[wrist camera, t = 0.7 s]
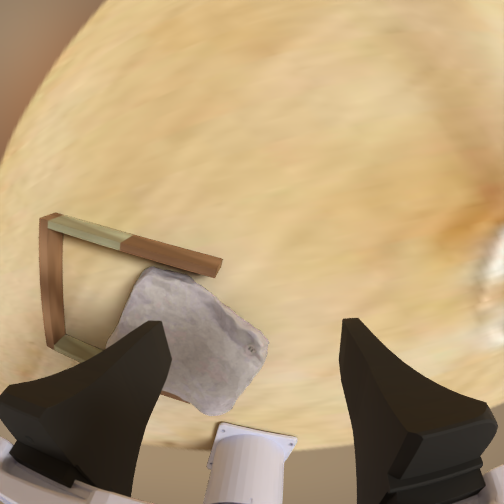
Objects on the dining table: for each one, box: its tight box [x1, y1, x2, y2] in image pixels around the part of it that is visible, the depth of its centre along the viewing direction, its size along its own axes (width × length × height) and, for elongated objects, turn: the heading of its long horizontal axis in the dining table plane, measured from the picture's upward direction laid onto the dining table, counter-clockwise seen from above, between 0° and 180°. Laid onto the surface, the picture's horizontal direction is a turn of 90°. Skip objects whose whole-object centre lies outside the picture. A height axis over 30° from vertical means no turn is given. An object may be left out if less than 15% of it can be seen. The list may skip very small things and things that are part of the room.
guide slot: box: [39, 213, 223, 404], centre depth 23 cm, size 13×15×2 cm
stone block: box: [106, 267, 269, 416], centre depth 23 cm, size 12×5×10 cm
